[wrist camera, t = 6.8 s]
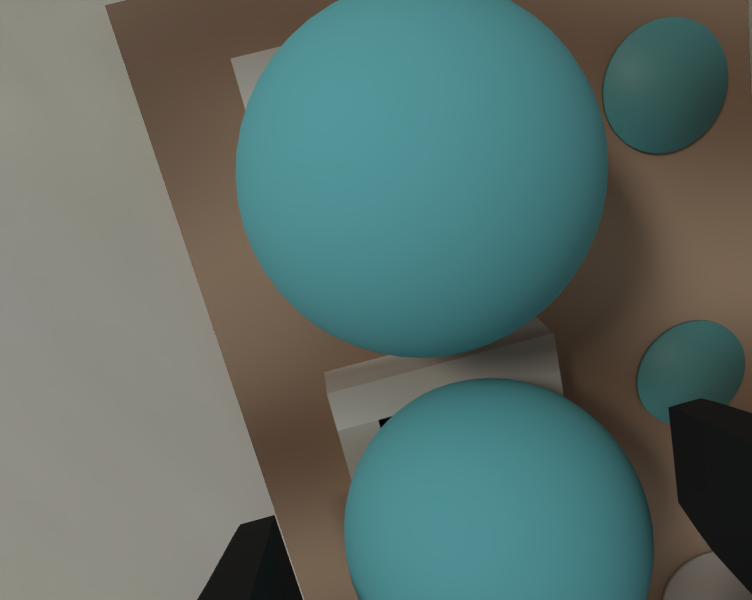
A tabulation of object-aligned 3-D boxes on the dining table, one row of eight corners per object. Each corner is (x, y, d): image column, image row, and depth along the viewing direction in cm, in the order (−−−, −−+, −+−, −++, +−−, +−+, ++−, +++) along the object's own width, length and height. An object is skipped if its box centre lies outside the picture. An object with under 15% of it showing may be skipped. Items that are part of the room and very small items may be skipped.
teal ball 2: (590, 519, 14) (735, 727, 10) (367, 581, 14) (404, 825, 10) (558, 307, 13) (712, 433, 8) (306, 374, 13) (314, 543, 8)
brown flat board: (759, 654, 18) (808, 712, 16) (368, 769, 18) (376, 841, 16) (711, -133, 12) (779, -169, 10) (117, 10, 12) (87, -3, 10)
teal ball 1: (550, 258, 13) (706, 359, 8) (292, 326, 12) (292, 473, 8) (506, -28, 11) (668, -117, 6) (209, 45, 11) (144, 9, 6)
